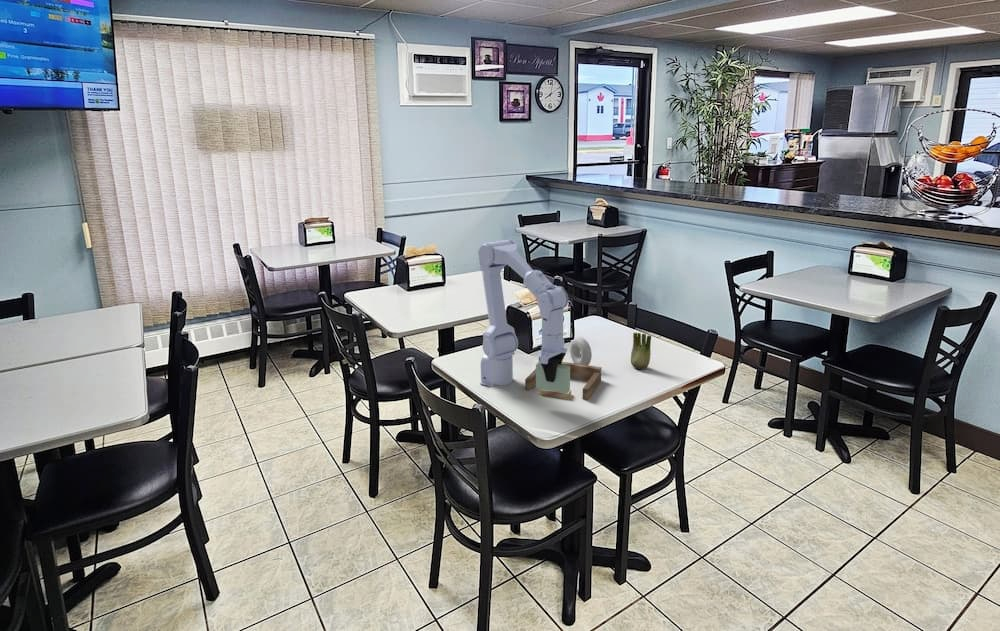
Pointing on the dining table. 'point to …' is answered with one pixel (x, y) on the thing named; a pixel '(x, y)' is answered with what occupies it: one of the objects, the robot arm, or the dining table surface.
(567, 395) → the offcut upper
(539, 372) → the board
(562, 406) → the dining table surface
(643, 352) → the fennel bulb
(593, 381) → the frame
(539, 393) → the offcut lower
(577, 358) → the donut
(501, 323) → the robot arm
